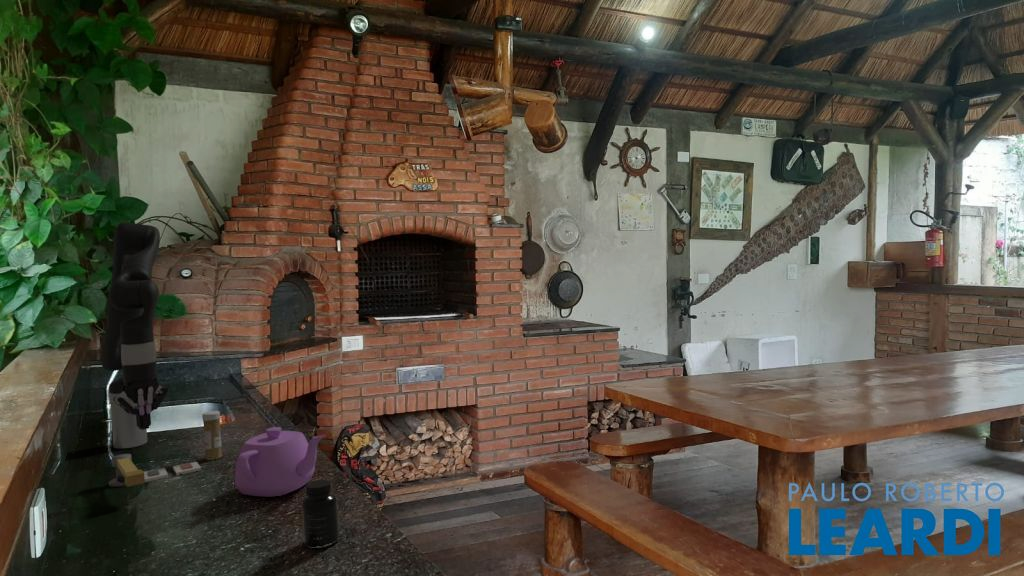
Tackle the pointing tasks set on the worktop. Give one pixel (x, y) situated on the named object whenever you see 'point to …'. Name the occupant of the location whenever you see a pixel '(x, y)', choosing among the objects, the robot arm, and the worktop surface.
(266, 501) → the worktop surface
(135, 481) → the swing bar
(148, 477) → the label tile
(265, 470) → the teapot
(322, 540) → the supplement bottle
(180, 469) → the label tile
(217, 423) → the sprinkles bottle
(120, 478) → the post
